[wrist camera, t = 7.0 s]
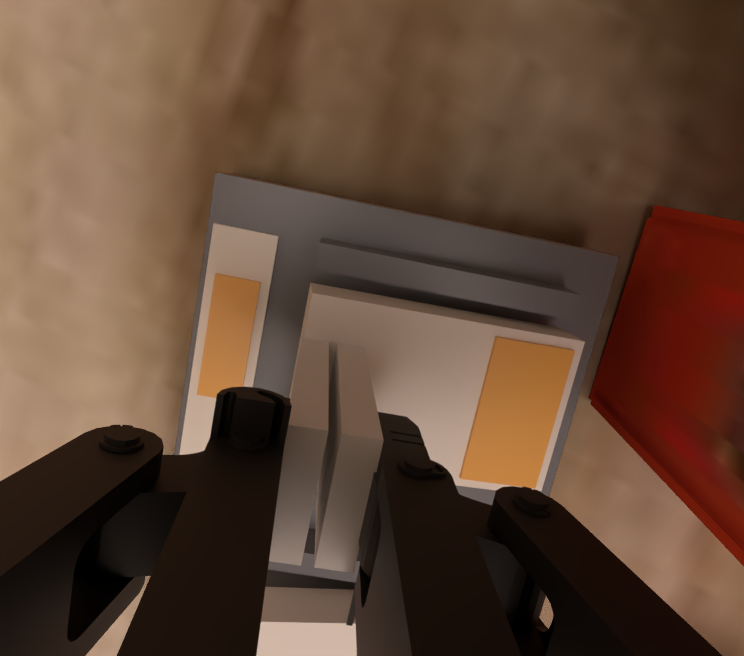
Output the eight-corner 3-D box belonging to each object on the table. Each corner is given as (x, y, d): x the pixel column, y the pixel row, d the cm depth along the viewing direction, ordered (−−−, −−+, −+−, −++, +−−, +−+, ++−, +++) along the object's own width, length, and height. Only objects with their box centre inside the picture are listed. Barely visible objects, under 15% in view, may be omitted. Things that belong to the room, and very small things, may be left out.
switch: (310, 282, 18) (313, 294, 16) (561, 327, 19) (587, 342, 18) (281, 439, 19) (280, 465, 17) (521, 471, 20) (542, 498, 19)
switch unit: (232, 173, 21) (204, 171, 17) (584, 247, 23) (641, 262, 18) (131, 837, 28) (92, 959, 24) (409, 868, 29) (421, 989, 25)
